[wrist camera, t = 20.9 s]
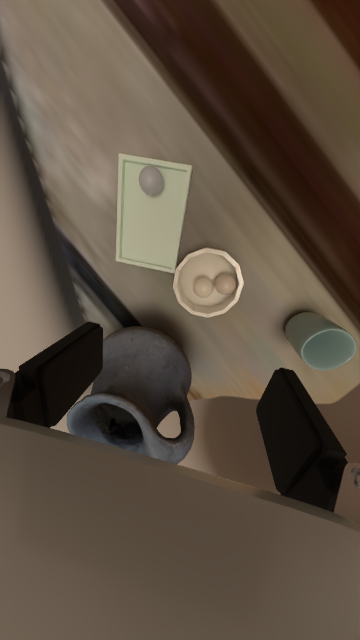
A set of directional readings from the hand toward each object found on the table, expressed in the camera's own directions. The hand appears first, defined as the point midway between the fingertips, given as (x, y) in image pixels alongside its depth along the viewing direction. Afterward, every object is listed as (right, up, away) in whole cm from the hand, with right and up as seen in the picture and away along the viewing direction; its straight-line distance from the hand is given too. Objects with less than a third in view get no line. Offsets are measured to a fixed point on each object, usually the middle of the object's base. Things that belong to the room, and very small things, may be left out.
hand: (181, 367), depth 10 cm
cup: (+25, +2, +29) cm, 38 cm away
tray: (-5, +22, +25) cm, 34 cm away
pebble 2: (+6, +10, +27) cm, 30 cm away
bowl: (+6, +11, +28) cm, 30 cm away
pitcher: (-5, -4, +36) cm, 37 cm away
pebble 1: (-5, +26, +22) cm, 35 cm away
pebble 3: (+7, +9, +26) cm, 28 cm away
